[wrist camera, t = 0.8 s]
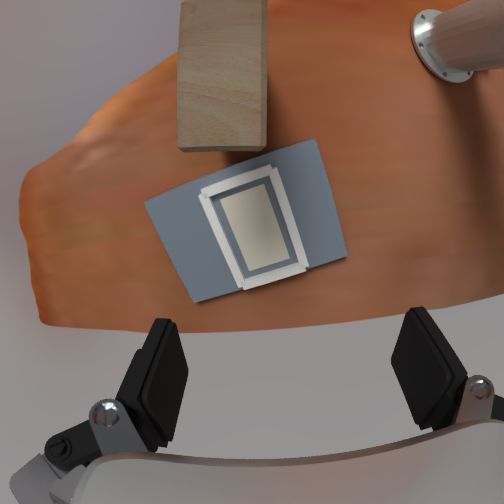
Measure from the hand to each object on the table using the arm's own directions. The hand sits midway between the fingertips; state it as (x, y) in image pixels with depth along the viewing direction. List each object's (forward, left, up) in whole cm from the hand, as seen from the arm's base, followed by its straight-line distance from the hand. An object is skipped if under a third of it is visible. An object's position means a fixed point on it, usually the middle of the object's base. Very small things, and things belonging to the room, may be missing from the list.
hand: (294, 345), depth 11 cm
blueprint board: (+4, +4, -29) cm, 30 cm away
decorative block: (-1, -12, -29) cm, 32 cm away
